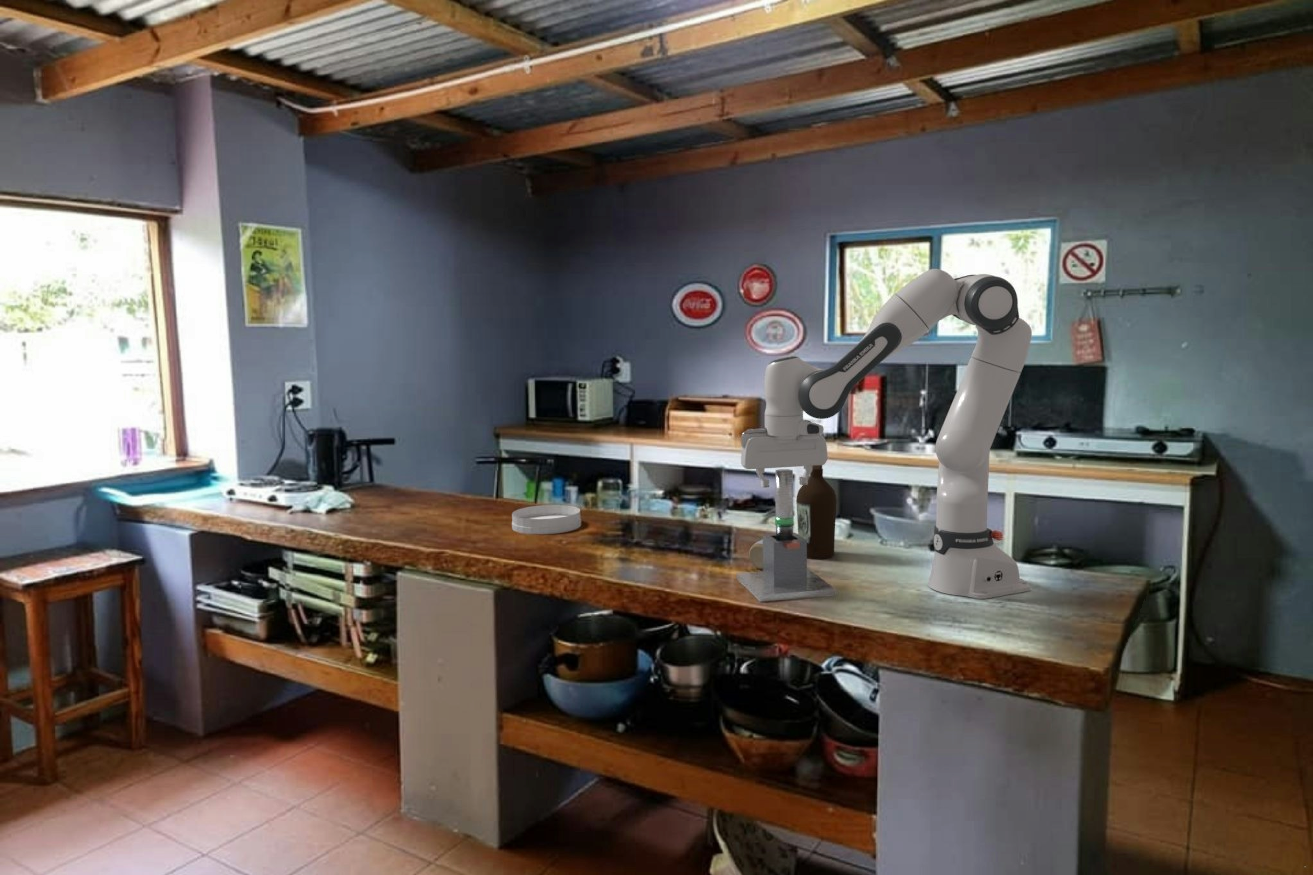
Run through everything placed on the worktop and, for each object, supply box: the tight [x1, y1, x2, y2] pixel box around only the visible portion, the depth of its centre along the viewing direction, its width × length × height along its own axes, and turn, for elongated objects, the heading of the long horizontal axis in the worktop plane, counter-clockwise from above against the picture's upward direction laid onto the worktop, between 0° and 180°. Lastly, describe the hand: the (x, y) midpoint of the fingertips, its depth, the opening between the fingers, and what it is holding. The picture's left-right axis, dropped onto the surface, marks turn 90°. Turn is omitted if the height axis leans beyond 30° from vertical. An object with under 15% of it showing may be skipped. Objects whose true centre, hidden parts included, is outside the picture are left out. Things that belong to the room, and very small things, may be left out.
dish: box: [511, 504, 582, 535], centre depth 265 cm, size 22×22×5 cm
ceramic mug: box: [748, 538, 763, 571], centre depth 211 cm, size 11×8×8 cm
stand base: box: [736, 531, 837, 603], centre depth 195 cm, size 18×18×12 cm
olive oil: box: [796, 465, 838, 560], centre depth 222 cm, size 11×11×25 cm
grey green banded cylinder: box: [774, 468, 795, 541], centre depth 193 cm, size 4×4×18 cm
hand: (784, 485), depth 193 cm, fingers open, 8 cm apart
